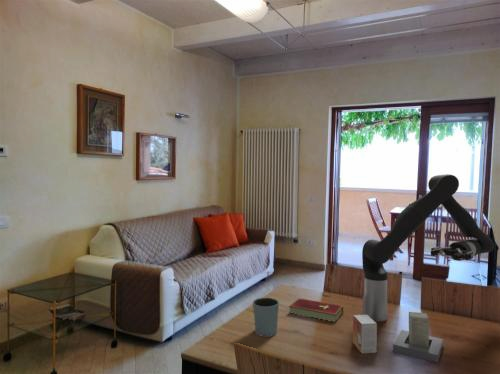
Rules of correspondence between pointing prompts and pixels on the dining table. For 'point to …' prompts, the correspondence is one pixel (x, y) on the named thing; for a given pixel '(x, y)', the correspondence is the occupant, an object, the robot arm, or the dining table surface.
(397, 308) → the dining table surface
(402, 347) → the pocket stand
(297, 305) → the hardcover book
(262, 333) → the grey ceramic cup
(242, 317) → the dining table surface
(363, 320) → the small box
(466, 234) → the robot arm
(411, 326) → the skincare box
